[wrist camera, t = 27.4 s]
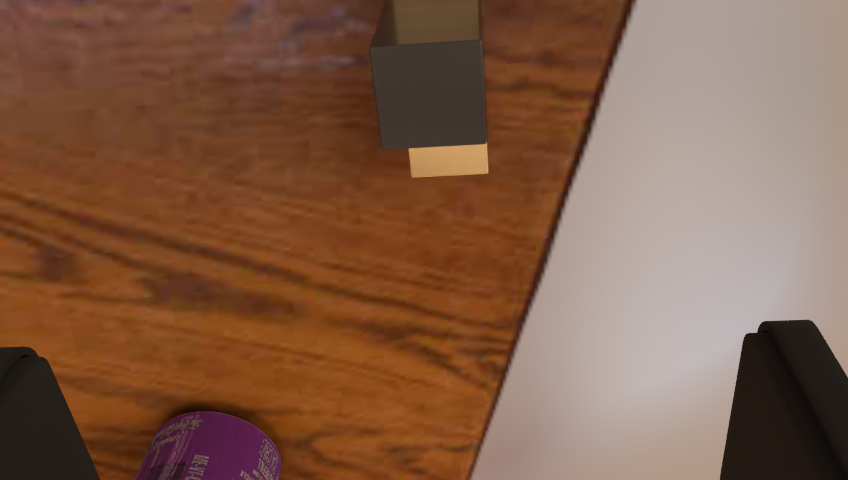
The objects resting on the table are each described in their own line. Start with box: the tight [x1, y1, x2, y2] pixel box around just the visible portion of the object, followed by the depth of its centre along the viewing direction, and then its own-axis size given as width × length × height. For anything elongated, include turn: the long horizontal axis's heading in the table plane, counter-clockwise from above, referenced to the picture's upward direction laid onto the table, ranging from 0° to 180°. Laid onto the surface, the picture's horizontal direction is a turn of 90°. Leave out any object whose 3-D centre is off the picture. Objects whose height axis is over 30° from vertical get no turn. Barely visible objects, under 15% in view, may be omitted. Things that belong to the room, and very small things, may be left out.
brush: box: [369, 0, 488, 178], centre depth 25 cm, size 12×3×10 cm, turn 5°
